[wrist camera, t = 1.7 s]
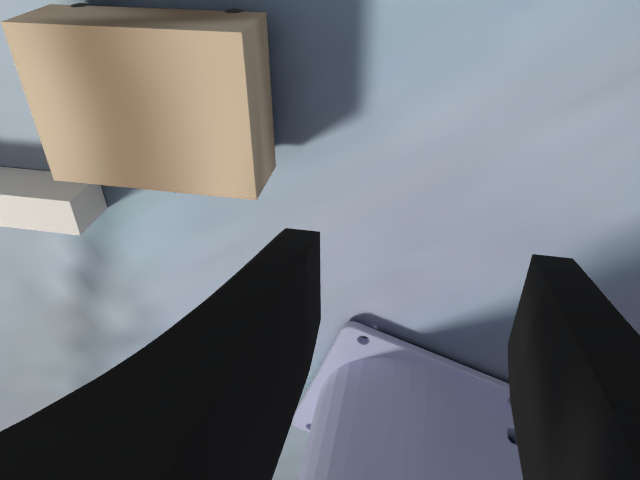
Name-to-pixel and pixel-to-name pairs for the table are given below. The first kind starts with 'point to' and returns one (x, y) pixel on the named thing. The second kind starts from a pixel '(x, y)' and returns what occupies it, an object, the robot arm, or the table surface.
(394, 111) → the table surface
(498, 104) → the table surface
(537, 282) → the robot arm
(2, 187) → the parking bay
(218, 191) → the tan block
